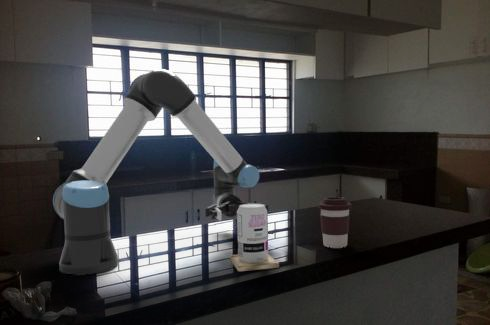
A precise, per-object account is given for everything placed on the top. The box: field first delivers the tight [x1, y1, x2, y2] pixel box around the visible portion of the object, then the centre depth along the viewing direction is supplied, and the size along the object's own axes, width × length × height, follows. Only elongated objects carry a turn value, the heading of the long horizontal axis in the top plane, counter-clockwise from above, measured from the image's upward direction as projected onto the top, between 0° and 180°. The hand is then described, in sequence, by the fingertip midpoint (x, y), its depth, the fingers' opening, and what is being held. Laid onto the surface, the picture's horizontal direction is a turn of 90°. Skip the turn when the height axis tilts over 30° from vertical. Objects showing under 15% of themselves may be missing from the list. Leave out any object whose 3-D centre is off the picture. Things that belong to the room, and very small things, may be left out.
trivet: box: [229, 253, 280, 272], centre depth 114 cm, size 11×11×1 cm
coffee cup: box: [318, 196, 352, 249], centre depth 130 cm, size 10×10×15 cm
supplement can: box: [236, 203, 269, 264], centre depth 114 cm, size 8×8×15 cm
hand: (242, 214), depth 123 cm, fingers open, 13 cm apart
